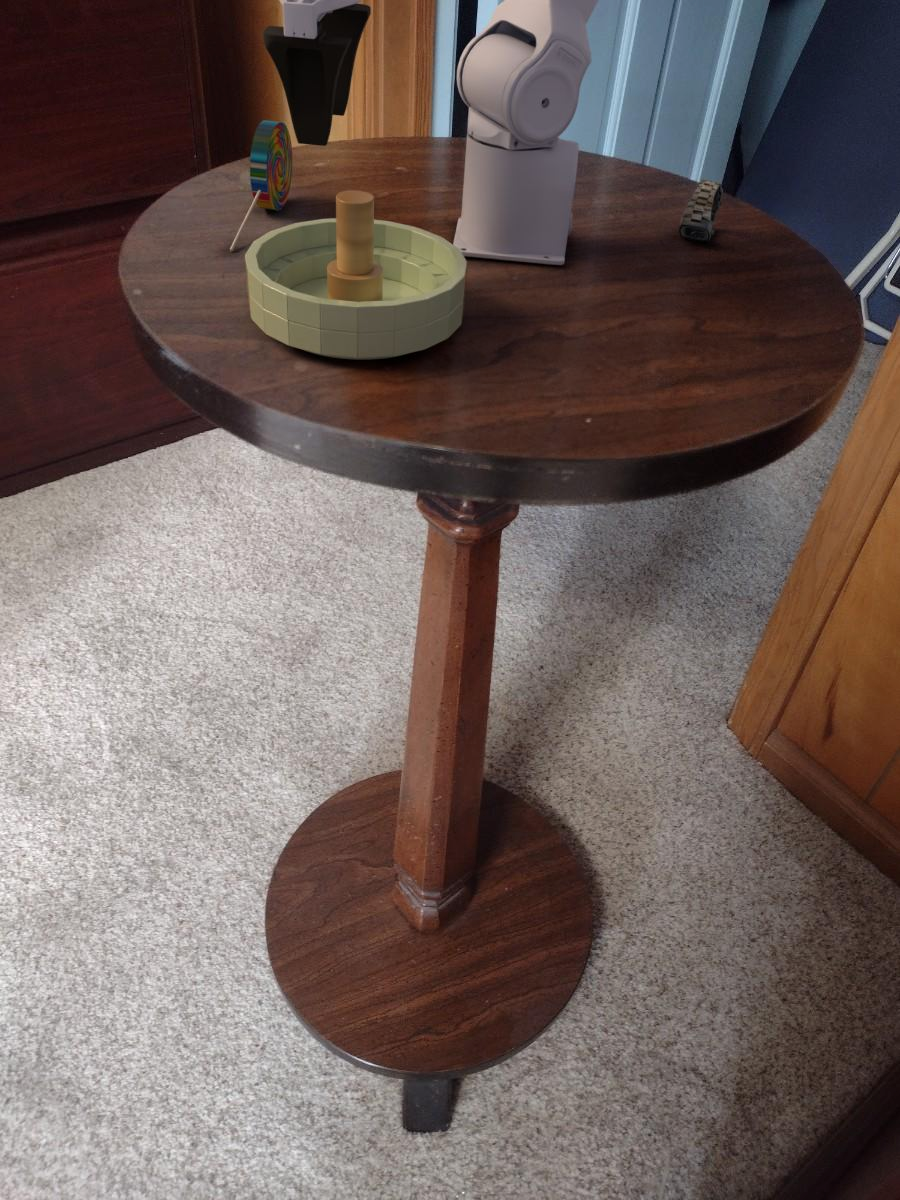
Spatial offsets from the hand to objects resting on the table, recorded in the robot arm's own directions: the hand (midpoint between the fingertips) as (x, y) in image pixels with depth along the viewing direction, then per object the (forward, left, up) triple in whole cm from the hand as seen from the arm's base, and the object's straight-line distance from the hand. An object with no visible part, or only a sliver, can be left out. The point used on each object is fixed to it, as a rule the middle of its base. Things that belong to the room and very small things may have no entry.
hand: (322, 128), depth 72 cm
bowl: (-4, +9, -10) cm, 14 cm away
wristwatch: (-32, -14, -11) cm, 37 cm away
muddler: (-4, +9, -10) cm, 14 cm away
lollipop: (+7, -8, -11) cm, 15 cm away
